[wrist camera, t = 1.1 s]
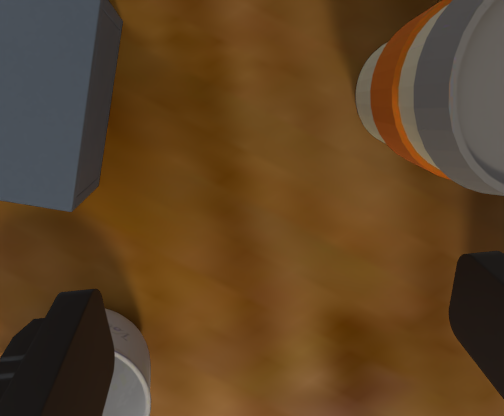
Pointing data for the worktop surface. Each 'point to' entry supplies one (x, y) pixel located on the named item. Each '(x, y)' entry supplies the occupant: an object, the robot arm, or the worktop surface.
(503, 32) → the reusable coffee cup
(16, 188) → the cabinet
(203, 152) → the worktop surface
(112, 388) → the teacup
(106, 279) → the worktop surface
